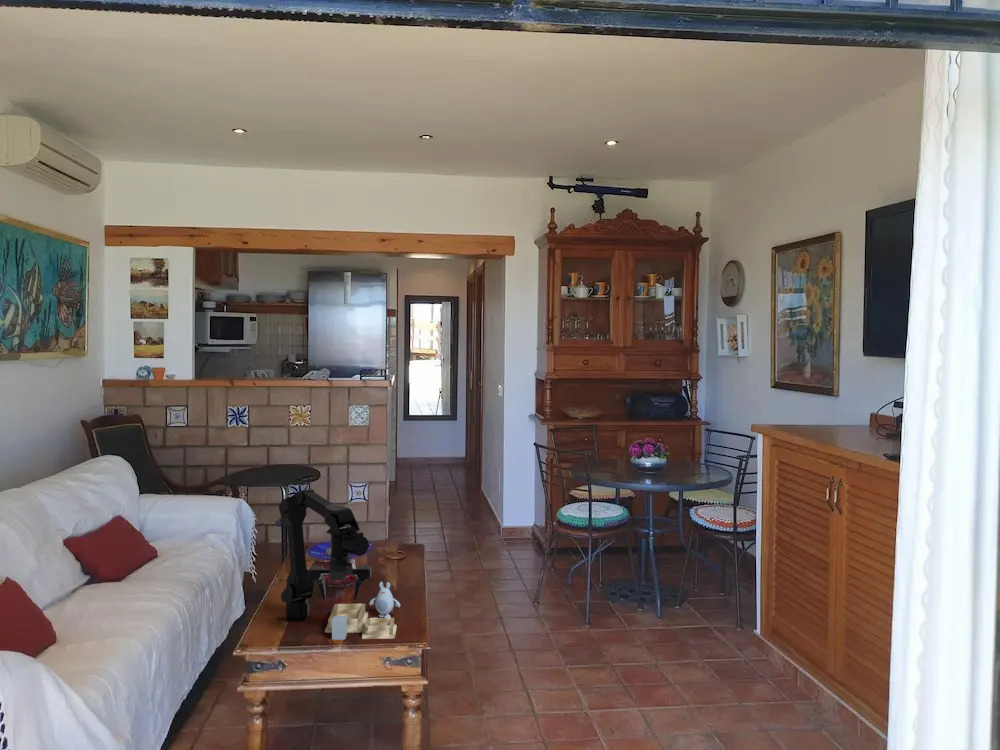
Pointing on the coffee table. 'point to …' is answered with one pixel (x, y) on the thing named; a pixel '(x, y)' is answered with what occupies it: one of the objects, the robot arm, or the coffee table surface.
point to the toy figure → (384, 601)
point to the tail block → (339, 627)
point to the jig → (363, 622)
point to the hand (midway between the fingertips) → (339, 599)
